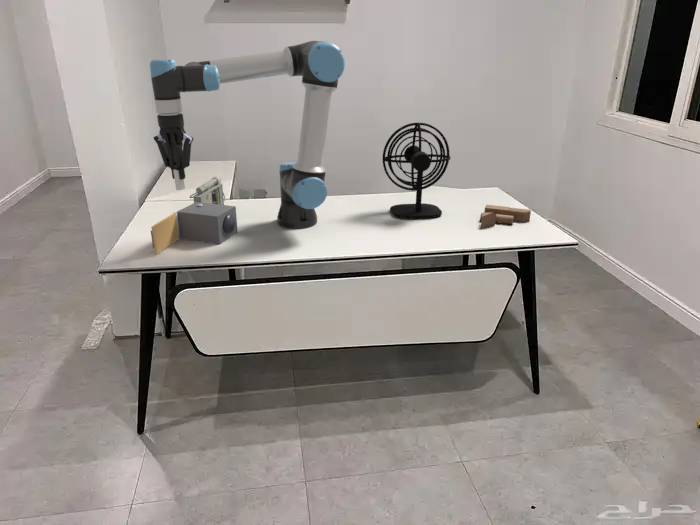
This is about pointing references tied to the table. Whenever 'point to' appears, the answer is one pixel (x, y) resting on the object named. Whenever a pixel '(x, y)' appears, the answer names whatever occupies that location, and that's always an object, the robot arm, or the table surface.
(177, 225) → the side door
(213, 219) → the camera housing
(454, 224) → the table surface
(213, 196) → the geiger counter
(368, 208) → the table surface
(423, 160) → the desk fan
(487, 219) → the wooden block set
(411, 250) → the table surface
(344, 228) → the table surface
